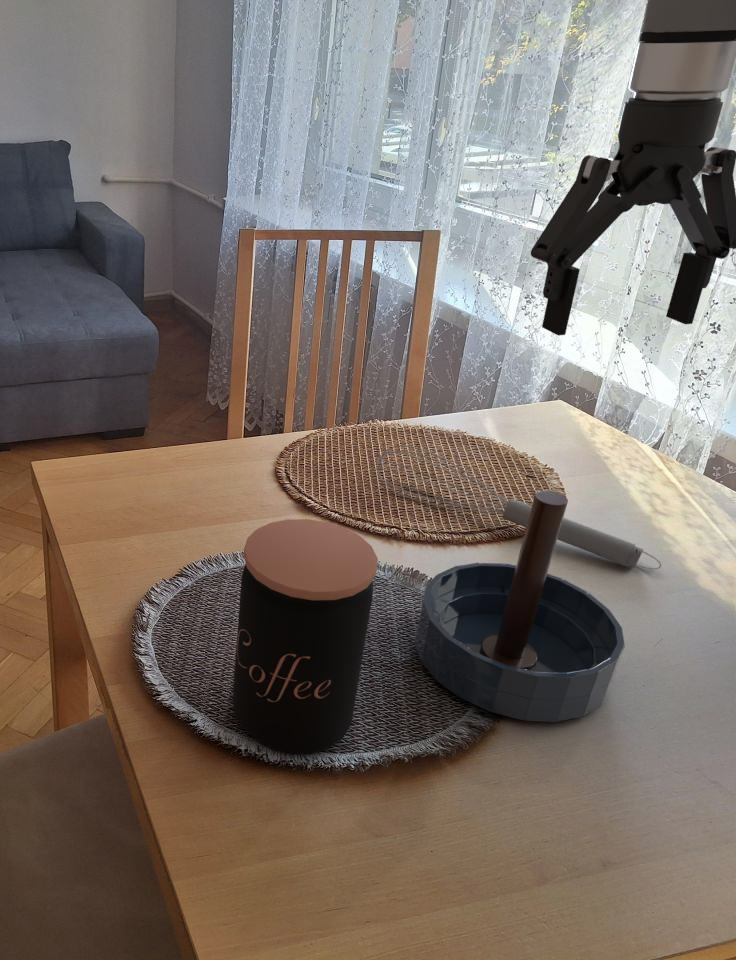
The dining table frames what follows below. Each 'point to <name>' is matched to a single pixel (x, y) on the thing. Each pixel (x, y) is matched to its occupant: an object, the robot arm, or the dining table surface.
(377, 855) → the dining table surface
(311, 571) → the coffee jar
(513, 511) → the kitchen whisk
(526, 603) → the stirring stick
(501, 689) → the bowl
